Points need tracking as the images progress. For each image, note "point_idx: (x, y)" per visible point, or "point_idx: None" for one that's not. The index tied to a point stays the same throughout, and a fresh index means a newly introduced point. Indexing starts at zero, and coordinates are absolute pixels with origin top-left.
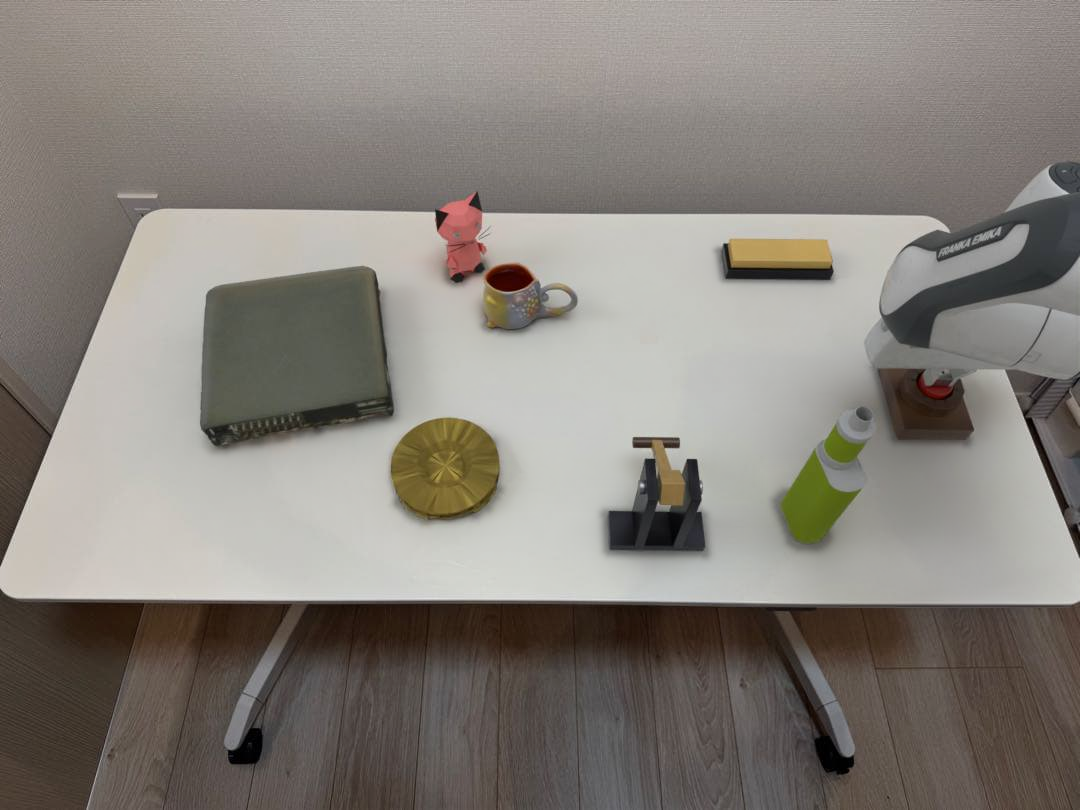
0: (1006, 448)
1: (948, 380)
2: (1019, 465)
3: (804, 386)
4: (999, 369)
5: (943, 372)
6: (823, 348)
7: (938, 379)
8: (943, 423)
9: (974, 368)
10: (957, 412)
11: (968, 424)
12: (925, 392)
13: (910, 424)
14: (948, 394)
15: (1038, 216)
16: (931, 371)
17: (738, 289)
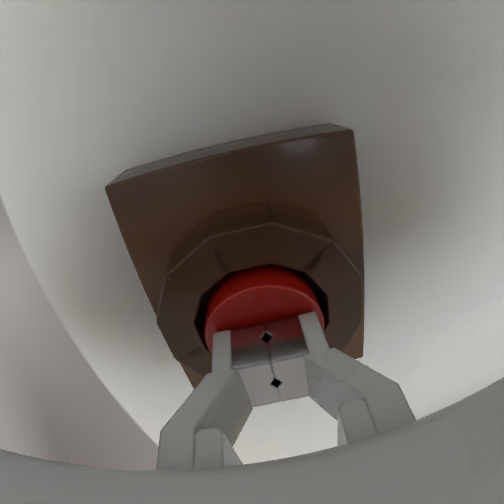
0: (30, 180)
1: (250, 357)
2: (4, 140)
3: (493, 243)
4: (66, 467)
5: (272, 382)
6: (437, 336)
7: (299, 351)
8: (210, 184)
9: (198, 484)
10: (162, 243)
11: (124, 205)
12: (303, 286)
13: (332, 154)
14: (215, 298)
15: None
16: (390, 385)
17: (495, 375)
